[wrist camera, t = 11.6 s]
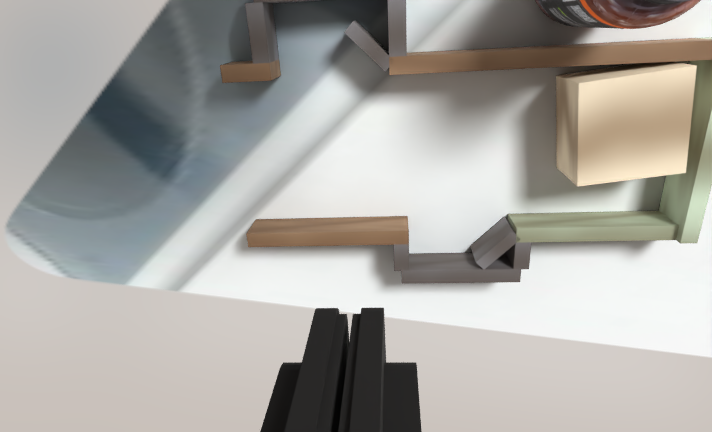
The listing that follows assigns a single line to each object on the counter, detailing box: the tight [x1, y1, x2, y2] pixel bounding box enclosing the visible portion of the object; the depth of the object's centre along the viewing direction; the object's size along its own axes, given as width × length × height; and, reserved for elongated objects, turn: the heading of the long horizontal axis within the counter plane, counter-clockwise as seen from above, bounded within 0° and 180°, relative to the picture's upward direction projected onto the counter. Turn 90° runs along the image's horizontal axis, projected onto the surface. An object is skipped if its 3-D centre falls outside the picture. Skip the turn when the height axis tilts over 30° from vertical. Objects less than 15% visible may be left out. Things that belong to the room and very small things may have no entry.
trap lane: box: [220, 0, 712, 283], centre depth 30 cm, size 19×29×3 cm, turn 93°
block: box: [556, 62, 697, 187], centre depth 28 cm, size 6×6×4 cm
